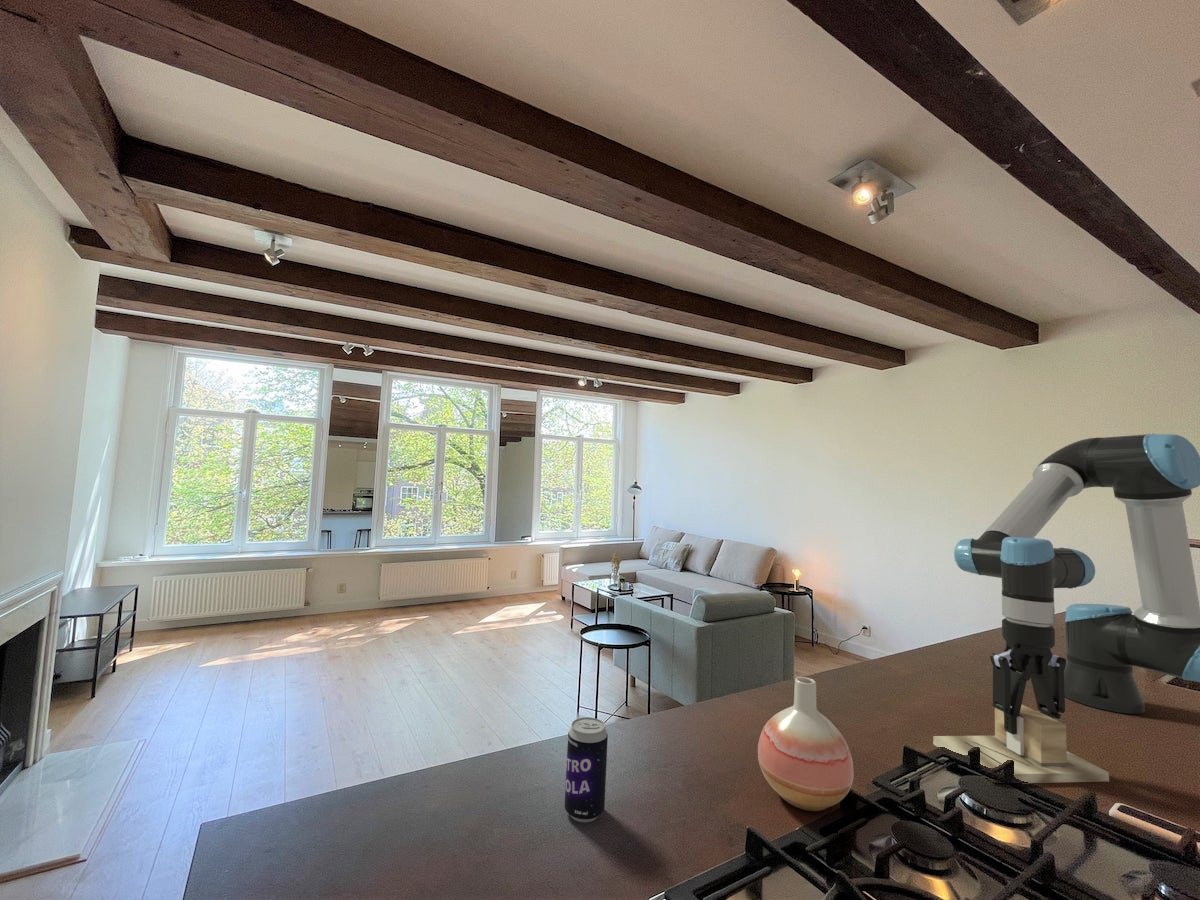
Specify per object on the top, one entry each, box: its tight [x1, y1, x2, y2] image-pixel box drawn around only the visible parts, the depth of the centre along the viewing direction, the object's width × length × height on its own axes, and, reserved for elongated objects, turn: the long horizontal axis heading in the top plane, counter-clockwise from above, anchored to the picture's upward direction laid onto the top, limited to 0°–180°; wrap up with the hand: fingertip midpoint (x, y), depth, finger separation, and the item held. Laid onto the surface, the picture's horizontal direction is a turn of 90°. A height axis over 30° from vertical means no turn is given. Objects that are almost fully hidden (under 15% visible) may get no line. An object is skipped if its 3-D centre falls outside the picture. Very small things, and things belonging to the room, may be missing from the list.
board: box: [932, 735, 1110, 784], centre depth 92 cm, size 22×13×2 cm, turn 97°
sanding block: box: [994, 704, 1067, 767], centre depth 93 cm, size 9×5×7 cm, turn 7°
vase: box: [757, 676, 855, 812], centre depth 78 cm, size 14×14×18 cm
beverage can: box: [563, 717, 609, 823], centre depth 72 cm, size 6×6×12 cm
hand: (1029, 751), depth 92 cm, fingers closed on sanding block, 5 cm apart
